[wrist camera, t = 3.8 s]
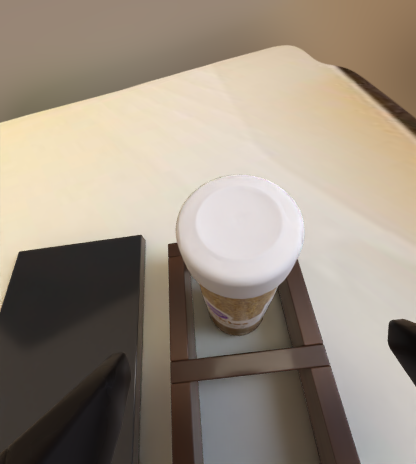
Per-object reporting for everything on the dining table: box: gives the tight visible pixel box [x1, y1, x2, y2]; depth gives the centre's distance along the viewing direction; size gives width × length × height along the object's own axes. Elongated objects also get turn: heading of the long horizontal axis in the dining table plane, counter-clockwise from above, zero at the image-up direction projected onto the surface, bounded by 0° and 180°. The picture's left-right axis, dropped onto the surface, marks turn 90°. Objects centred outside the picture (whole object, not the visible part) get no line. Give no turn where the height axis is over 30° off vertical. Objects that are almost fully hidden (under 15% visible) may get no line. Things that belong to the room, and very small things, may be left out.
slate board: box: [0, 235, 145, 464], centre depth 19 cm, size 20×12×1 cm, turn 6°
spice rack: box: [168, 243, 360, 464], centre depth 16 cm, size 18×10×4 cm, turn 6°
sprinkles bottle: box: [176, 175, 305, 335], centre depth 14 cm, size 5×5×14 cm
